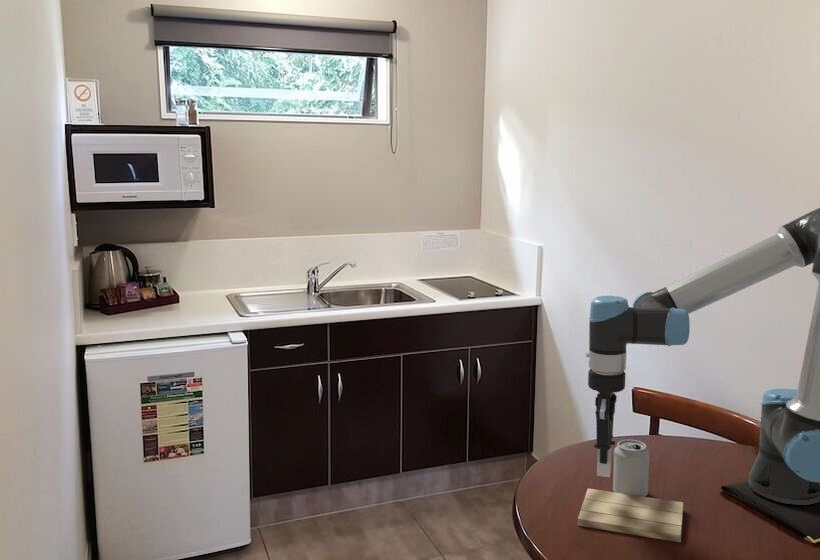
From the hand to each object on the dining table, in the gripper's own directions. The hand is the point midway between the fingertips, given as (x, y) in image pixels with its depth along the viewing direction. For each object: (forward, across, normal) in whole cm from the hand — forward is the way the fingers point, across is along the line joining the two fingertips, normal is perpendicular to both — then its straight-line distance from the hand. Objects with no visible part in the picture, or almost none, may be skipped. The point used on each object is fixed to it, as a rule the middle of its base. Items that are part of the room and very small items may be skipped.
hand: (603, 474), depth 157 cm
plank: (+7, +1, +6) cm, 9 cm away
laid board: (+7, +8, +6) cm, 12 cm away
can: (+7, -7, +5) cm, 12 cm away
